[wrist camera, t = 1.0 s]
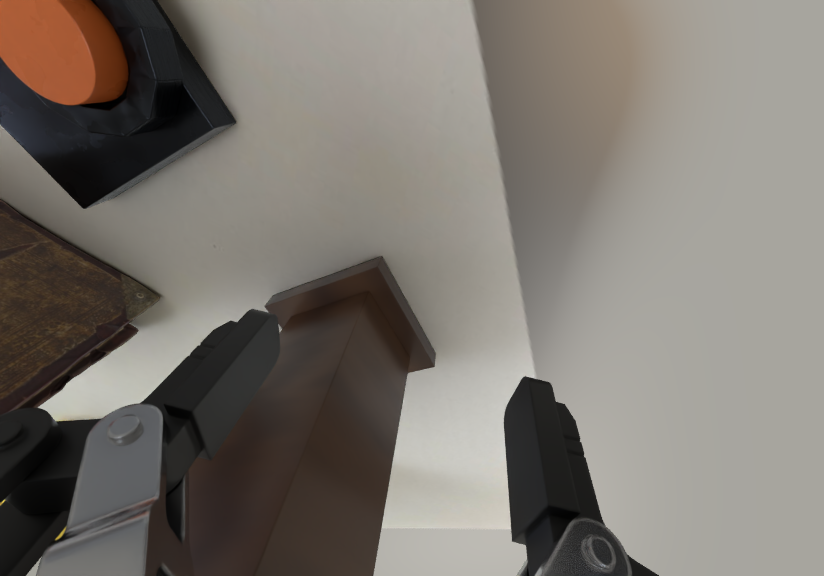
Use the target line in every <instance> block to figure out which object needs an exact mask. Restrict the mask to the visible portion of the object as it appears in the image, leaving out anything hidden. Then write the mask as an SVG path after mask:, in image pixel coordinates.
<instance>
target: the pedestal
mask: <svg viewBox="0 0 824 576" xmlns="http://www.w3.org/2000/svg"><path fill="white" fill-rule="evenodd" d="M265 308H266V309H267V310H268V312H269V313H272V314H275V315H276V316H277V318H278V324H279V325H280V326H281V327H282V331H281V332H280V334H279V338H280V354H279V357H278V360H277V362H276V364H275V366H274V367H273V369H272V370H271V372H270V373H269V375H268V376H267V378H266V379H265V381H264V382H263V384H262V385H261V387H260V388H259V390H258V391H257V393H256V394H255V396H254V397H253V399H252V400H251V402H250V403H249V405H248V406H247V408H246V409H245V411H244V412H243V414H242V415H241V417H240V418H239V420H238V421H237V423H236V424H235V426H234V427H233V429H232V430H231V432H230V433H229V435H228V436H227V438H226V439H225V441H224V442H223V444H222V445H221V447H220V448H219V450H218V451H217V453H216V454H215V456H214V457H213V459H212V460H211V461H210V460H207V459H203V458H199V457H197V458H196V459H195V461H194V462H193V464H192V465H191V467H190V468H189V469H188V471H189V543H190V552H191V557H192V561H193V567H194V576H373V574H374V568H375V562H376V556H377V550H378V544H379V539H380V532H381V527H382V521H383V515H384V509H385V503H386V497H387V491H388V486H389V480H390V474H391V468H392V462H393V456H394V450H395V444H396V438H397V433H398V427H399V421H400V415H401V409H402V403H403V397H404V391H405V385H406V379H407V374H408V373H409V372H414V371H418V370H423V369H427V368H432V367H435V357H436V353H435V352H434V350H433V348H432V346H431V344H430V342H429V341H428V339H427V337H426V335H425V333H424V332H423V330H422V328H421V326H420V324H419V323H418V321H417V319H416V317H415V315H414V313H413V312H412V310H411V308H410V306H409V304H408V303H407V301H406V299H405V297H404V295H403V294H402V292H401V290H400V288H399V286H398V284H397V283H396V281H395V279H394V277H393V275H392V274H391V272H390V270H389V268H388V266H387V265H386V263H385V261H384V259H383V257H382V256H381V257H378V258H376V259H373V260H370V261H367V262H365V263H362V264H359V265H356V266H354V267H351V268H348V269H345V270H342V271H340V272H337V273H334V274H331V275H329V276H326V277H323V278H320V279H318V280H315V281H312V282H309V283H307V284H304V285H301V286H298V287H296V288H293V289H290V290H287V291H284V292H282V293H279V294H276V295H273V297H272V298H271V299H270V300H269V301H268V303H267V304H266V305H265Z"/></svg>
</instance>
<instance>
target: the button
mask: <svg viewBox="0 0 824 576" xmlns="http://www.w3.org/2000/svg"><path fill="white" fill-rule="evenodd" d="M0 57H1V58H2V59H3V61H4V62H5V64H6V65H7V66H8V67H9V68H10V69H11V71H12V72H13V73H14V74H15V75H16V76H17V77H18V78H19V79H20V80H21V81H22V82H24V83H25V84H26V85H27V86H28V87H30V88H31V89H32V90H34V91H35V92H36V93H38V94H39V95H41V96H43V97H45V98H47V99H49V100H51V101H53V102H56V103H59V104H64V105H81V104H91V103H100V102H109V101H113V100H115V99H117V98H119V97H120V96H121V95H122V94H123V92H124V91H125V89H126V86H127V83H128V76H129V70H128V62H127V59H126V56H125V53H124V50H123V47H122V43H121V41H120V38H119V36H118V34H117V33H116V31H115V29H114V27H113V26H112V24H111V23H110V21H109V20H108V19H107V17H106V16H105V15H104V14H103V12H102V11H101V10H100V9H99V8H98V7H97V6H96V5H95V4H94V3H93V2H92V1H91V0H0Z"/></svg>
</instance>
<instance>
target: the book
mask: <svg viewBox="0 0 824 576" xmlns="http://www.w3.org/2000/svg"><path fill="white" fill-rule="evenodd" d="M159 299H160V298H159V296H157V295H156V294H154V293H153V292H151V291H150V290H149V289H147V288H145V287H144V286H142V285H141V284H139V283H138V282H136V281H134V280H133V279H131V278H129V277H128V276H125V275H123V274H121V273H120V272H118V271H116V270H115V269H113V268H111V267H109V266H107V265H105V264H103V263H101V262H99V261H97V260H96V259H94V258H92V257H90V256H89V255H87V254H85V253H84V252H82V251H80V250H78V249H77V248H75V247H73V246H71V245H69V244H67V243H66V242H64V241H63V240H61V239H59V238H58V237H56V236H54V235H53V234H51V233H49V232H47V231H46V230H44V229H42V228H41V227H39V226H37V225H36V224H34V223H33V222H31V221H29V220H28V219H26V218H24V217H23V216H22V215H20V214H19V213H18V212H16V211H15V210H14V209H12V208H11V207H10V206H9V205H7V204H6V203H5V202H3V201H2V200H0V415H1V414H4V413H7V412H10V411H13V410H17V409H23V408H37V407H39V406H40V405H41V404H43V403H44V402H46V401H47V400H48V399H50V398H51V397H52V396H54V395H55V394H57V393H58V392H60V391H61V390H62V389H63V388H64V386H65V385H66V383H68V382H69V381H70V380H71V379H72V378H74V377H76V376H77V375H79V374H81V373H82V372H83V371H85V370H86V369H87V368H89V367H90V366H91V365H93V364H95V363H96V362H98V361H99V360H101V359H102V358H104V357H105V356H107V355H108V354H110V353H111V352H112V351H113V350H115V349H117V348H118V347H120V346H122V345H123V344H124V343H125V342H127V341H128V340H129V339H131V338H132V337H133V336H134V335H136V334H137V332H138V331H139V330H138V329H137V328H136V327H134V326H132V325H131V324H129V322H131V321H132V320H133V319H135V318H136V317H137V316H139V315H140V314H142V313H143V312H144V311H146V310H147V309H148V308H150V307H151V306H153V305H154V304H155V303H156V302H157V301H158V300H159Z"/></svg>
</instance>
